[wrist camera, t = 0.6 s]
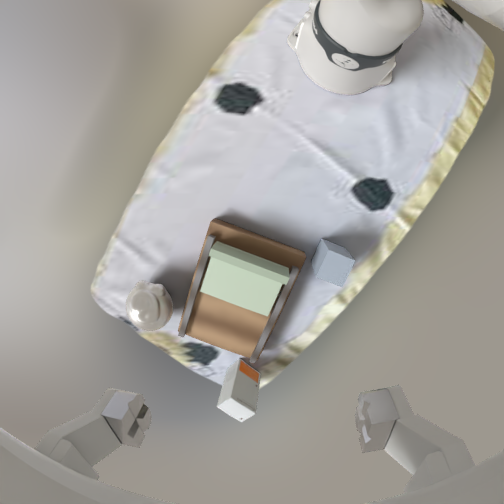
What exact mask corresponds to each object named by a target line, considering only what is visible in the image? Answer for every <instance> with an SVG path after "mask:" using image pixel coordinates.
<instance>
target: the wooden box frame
mask: <svg viewBox="0 0 504 504" xmlns="http://www.w3.org/2000/svg"><path fill="white" fill-rule="evenodd" d="M217 241H218V242H221V243H224V244H226V245H229V246H232V247H234V248H237V249H240V250H242V251H245V252H248V253H250V254H253V255H256V256H258V257H261V258H264V259H266V260H269V261H272V262H274V263H277V264H280V265H282V266H285V267H288V268H289V277H290V278H289V280H288V283H287V285H285V284H282V286H281V288H280V291H279V293H278V295H277V297H276V300H275V302H274V304H273V306H272V308H271V311H270V313H269V315H268V316H265V315H262V314H259V313H256V312H254V311H251V310H248V309H245V308H242V307H240V306H237V305H234V304H232V303H229V302H226V301H224V300H221V299H218V298H216V297H213V296H211V295H208V294H205V293H203V292H200V290H201V287H202V284H203V281H204V278H205V274H206V271H207V268H208V265H209V262H210V259H211V257H210V256H209V253H210V250H211V248H212V247H213V245H214V244H215V243H216V242H217ZM305 259H306V255H305V252H303V251H300V250H298V249H295V248H293V247H290V246H287V245H285V244H282V243H280V242H277V241H274V240H272V239H269V238H266V237H264V236H261V235H259V234H256V233H253V232H251V231H248V230H245V229H243V228H240V227H237V226H234V225H232V224H229V223H226V222H224V221H221V220H218V219H216V218H215V219H213V220H212V221H211V222H210V225H209V228H208V231H207V235H206V238H205V241H204V244H203V247H202V250H201V253H200V257H199V260H198V263H197V266H196V270H195V273H194V276H193V280H192V283H191V286H190V290H189V293H188V296H187V300H186V303H185V307H184V310H183V314H182V318H181V321H180V325H179V328H178V331H179V335H178V336H181V337H184V335H185V334H186V335H188V336H191V337H193V338H196V339H199V340H201V341H204V342H206V343H209V344H212V345H214V346H217V347H220V348H222V349H225V350H228V351H231V352H234V353H237V354H239V355H242V356H245V357H248V358H250V361H249V362H251V363H255V362H256V360H258V358H259V356H260V354H261V352H262V351H263V349H264V346H265V344H266V342H267V340H268V338H269V336H270V334H271V332H272V330H273V328H274V326H275V324H276V322H277V320H278V318H279V316H280V314H281V311H282V309H283V307H284V305H285V303H286V301H287V299H288V297H289V294H290V292H291V290H292V288H293V286H294V284H295V281H296V279H297V277H298V275H299V272H300V270H301V268H302V266H303V263H304V261H305Z"/></svg>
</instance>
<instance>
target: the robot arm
mask: <svg viewBox="0 0 504 504" xmlns="http://www.w3.org/2000/svg"><path fill="white" fill-rule="evenodd" d="M452 1H454V2H455V3H457V4H458V5H460V6H461V7H463V8H464V9H466V10H467V11H469V12H470V13H472V14H474V15H476V16H478V17H480V18H481V19H483V20H485V21H486V22H488V23H490V24H492V25H493V26H495V27H497V28H499V29H500V30H502V31H504V0H452ZM309 8H310V10H309V11H308V12H306V13H305V15H304V17H303V18H302V19H301V21H300V22H299V23H298V24H297V26H296V27H295V28H294V29H293V31H292V32H291V33H290V35H289V36H288V38H287V43H288V45H289V46H290V47H291V48H292V49H293V50H294V51H295V52H296V54H297V56H298V59H299V62H300V65H301V67H302V69H303V70H304V72H305V73H306V75H307V76H308V77H309V78H310V79H311V80H312V81H313V82H314V83H316V84H317V85H318V86H320V87H322V88H324V89H325V90H328V91H330V92H333V93H337V94H342V95H354V94H359V93H362V92H365V91H367V90H368V89H370V88H372V87H374V86H384V85H388V84H389V83H390V82H391V80H392V69H393V68H394V67H395V66H396V62H395V55H396V54H397V53H398V51H399V50H400V48H401V46H402V44H403V42H404V41H405V40H406V39H407V38H408V37H409V36H410V35H411V34H412V33H414V32H415V31H416V30H417V29H418V28H419V26H420V25H421V22H422V19H423V14H424V10H423V4H422V1H421V0H312V1H311V3H310V5H309ZM295 35H298V37H296V36H295ZM358 401H359V406H358V407H357V408H356V414H355V415H356V416H355V420H356V427H357V431H359V432H360V433H361V435H360V439H359V440H360V445H361V449H362V453H365V452H371V451H376V450H382V449H385V451H386V452H387V453H388V454H389V455H391V456H392V457H393V458H394V459H395V460H396V461H397V462H399V463H400V464H401V465H402V466H403V467H404V468H405V469H406V470H408V471H409V472H410V473H411V474H412V475H413V477H412V478H411V479H410V481H409V482H408V483H407V485H406V486H405V487H404V492H405V493H404V494H401V495H397V496H394V497H390V498H386V499H383V500H378V501H374V502H370V503H364V504H504V449H503V450H502V451H500V452H499V453H497V454H495V455H493V456H492V457H490V458H488V459H486V460H484V461H482V462H480V463H479V464H477V465H475V464H474V462H473V460H472V457H471V455H470V453H469V451H468V449H467V447H466V445H465V443H464V441H463V440H462V439H460V438H458V437H457V436H455V435H453V434H451V433H449V432H447V431H446V430H444V429H442V428H440V427H439V426H437V425H435V424H433V423H432V422H430V421H428V420H426V419H425V418H423V417H421V416H420V415H418V414H417V415H414V413H413V411H412V409H411V407H410V405H409V403H408V401H407V398H406V396H405V394H404V392H403V390H402V388H401V386H399V385H397V386H392V387H388V388H383V389H377V390H372V391H366V392H361V393H360V394H359V398H358ZM144 402H145V399H144V397H143V395H142V394H139V393H133V392H128V391H123V390H117V389H112V388H109V389H107V390H106V391H105V392H104V394H103V395H102V397H101V398H100V400H99V401H98V402H97V404H96V405H95V407H94V408H93V410H92V411H91V412H86V413H84V414H82V415H80V416H78V417H76V418H74V419H72V420H70V421H68V422H66V423H64V424H62V425H59V426H57V427H55V428H53V429H51V430H49V431H47V433H46V434H45V435H44V437H43V438H42V439H41V441H40V442H39V443H38V445H37V446H36V448H35V449H33V448H31V447H29V446H28V445H26V444H24V443H23V442H21V441H20V440H18V439H17V438H15V437H14V436H12V435H10V434H9V433H8V432H6V431H5V430H3V429H2V428H1V427H0V504H177V503H171V502H167V501H163V500H158V499H155V498H151V497H147V496H143V495H139V494H136V493H133V492H130V491H126V490H123V489H120V488H117V487H115V486H112V485H109V484H106V483H104V482H101V481H98V478H99V474H98V473H97V472H96V471H95V470H94V469H93V468H92V467H93V466H94V465H95V464H97V463H98V462H100V461H101V460H102V459H104V458H105V457H106V456H108V455H109V454H111V453H112V452H113V451H114V450H116V449H117V448H119V447H120V446H121V445H122V444H124V445H128V446H133V447H138V448H139V447H140V446H141V444H142V441H143V439H144V437H145V435H144V431H145V430H147V429H149V426H150V424H151V412H150V409H149V408H148V407H147V406H146V405H145V404H144Z"/></svg>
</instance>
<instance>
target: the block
mask: <svg viewBox="0 0 504 504" xmlns="http://www.w3.org/2000/svg"><path fill="white" fill-rule="evenodd" d="M354 262H355V260H354V258H353V257H352V256H351V255H350V253H349V252H348V251H347V250H346V249H345V248H344V247H342V246H339V245H337V244H334V243H332V242H329V241H327V240H325V239H322V238H321V240H320V243H319V245H318V247H317V250H316V252H315V254H314V256H313V259H312V261H311V264H312V267H313V270H314V273H315V276H316V277H317V278H319V279H322V280H325V281H327V282H330V283H333V284H335V285H338V286H341V287H343V285H344V283H345V281H346V279H347V277H348V275H349V273H350V271H351V269H352V267H353V264H354Z"/></svg>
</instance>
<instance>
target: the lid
mask: <svg viewBox="0 0 504 504" xmlns="http://www.w3.org/2000/svg"><path fill="white" fill-rule="evenodd" d="M209 256H210V257H211V259H210V262H209V265H208V268H207V271H206V274H205V278H204V281H203V284H202V287H201V290H200V292H203V293H205V294H208V295H211V296H213V297H216V298H218V299H221V300H224V301H226V302H229V303H232V304H234V305H237V306H240V307H242V308H245V309H248V310H251V311H254V312H256V313H259V314H262V315H265V316H268V315H269V313H270V311H271V308H272V306H273V304H274V302H275V300H276V297H277V295H278V293H279V291H280V288H281V286H282V284H285V285H287V283H288V280H289V278H290V277H289V268H288V267H285V266H282V265H280V264H277V263H274V262H272V261H269V260H266V259H264V258H261V257H258V256H256V255H253V254H250V253H248V252H245V251H242V250H240V249H237V248H234V247H232V246H229V245H226V244H224V243H221V242H218V241H217V242H216V243H215V244H214V245H213V247H212V248H211V250H210V253H209Z"/></svg>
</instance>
